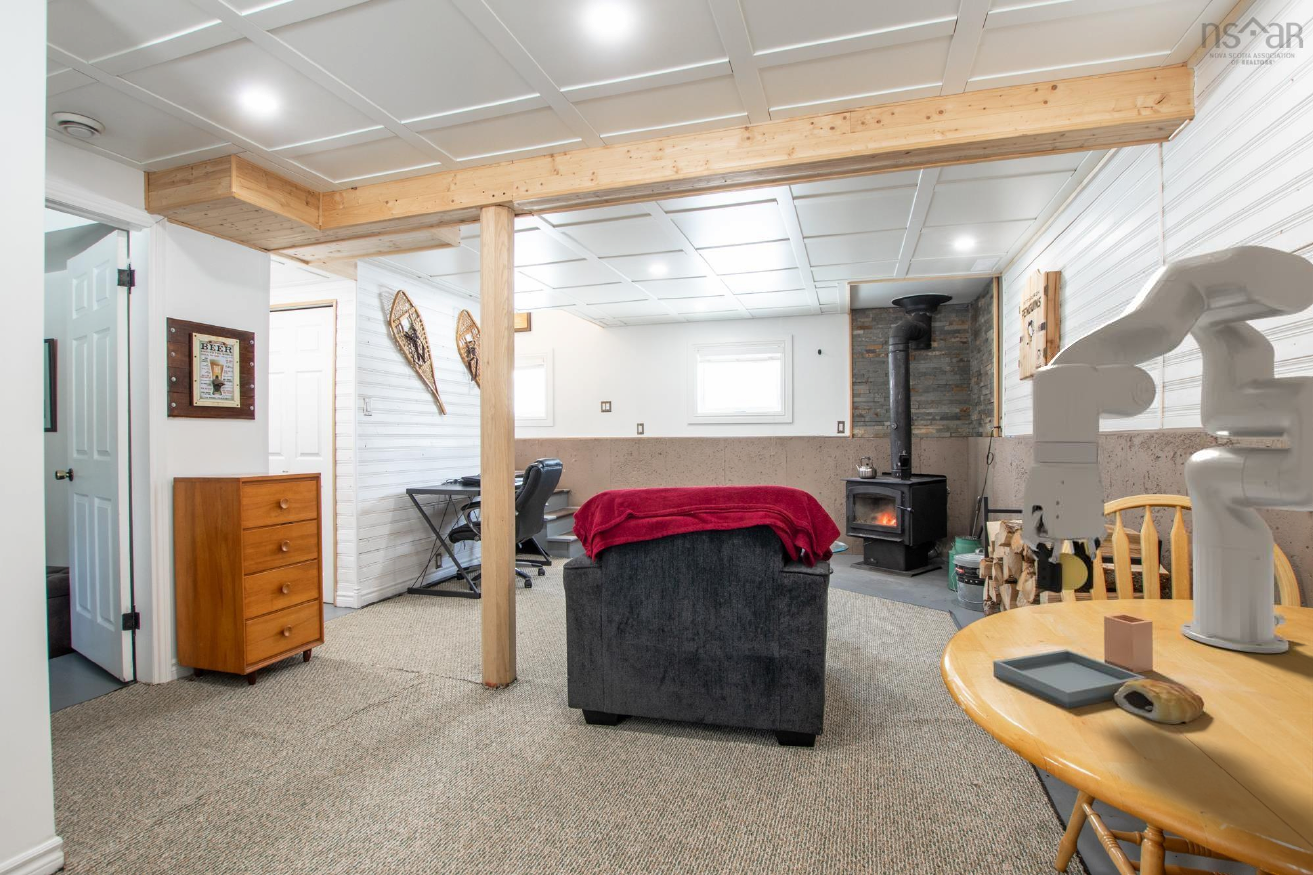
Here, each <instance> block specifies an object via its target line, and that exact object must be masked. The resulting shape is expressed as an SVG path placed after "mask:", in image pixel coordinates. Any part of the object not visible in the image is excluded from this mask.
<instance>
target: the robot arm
mask: <svg viewBox="0 0 1313 875" xmlns="http://www.w3.org/2000/svg"><path fill="white" fill-rule="evenodd" d="M1312 305H1313V263H1312V262H1311V261H1310V260H1308V259H1307V258H1305V257H1303V256H1301V255H1298V254H1295V253H1291V252H1287V251H1284V250H1280V249H1276V248H1272V247H1268V246H1262V245H1251V244H1250V245H1239V246H1234V247H1229V248H1224V249H1221V250H1216V251H1212V252H1207V253H1202V254H1199V255H1193V256H1190V257H1186V258H1182V259H1181V258H1180V259H1178V260H1174V261H1172V262H1169V263H1167V264H1165V265H1163V266H1162V267H1160V268H1159V269H1157V271H1155V273H1153V275H1152V276H1151V277H1150V278H1149V280H1148V281H1147V282H1146V283H1145V285H1144V286H1142V288H1141V290H1140V291H1139V292H1138V293H1137V294H1136V296H1135V297H1134V299H1132V300H1131V302H1130V303H1129V305H1128V306H1127V307H1126V308H1125V309H1124V311H1123V312H1122V313H1121V314H1120V315H1119V316H1117V317H1115V318H1113V319H1112V320H1110V321H1108V322H1106V323H1104V324H1102V325H1101V326H1099V327H1097V328H1096V329H1094V330H1092V331H1090V332H1089V333H1087V334H1085V335H1083V336H1082V337H1080V338H1078V339H1077V340H1075V341H1073V342H1072V343H1070V344H1069V345H1067V346H1066V347H1065V348H1063V349H1062V350H1060V352H1058V353H1057V355H1055V356H1054V358H1053V359H1052V360H1051V361H1050V362H1049V363H1048V365H1045V366H1042V367H1040V368H1038V369H1037V370H1035V372H1034V374H1033V377H1032V465H1029V466H1028V470H1027V472H1026V477H1025V482H1024V490H1023V498H1022V499H1023V500H1022V510H1021V511H1022V513H1021V529H1022V532H1021V534H1020V535H1019V536H1020V540H1022V542H1023V543H1024V544H1025V545H1026V546H1027V547H1028V549H1029V550H1030V551H1031V553H1032V554H1033V555H1032V557H1033V559H1035V560H1036V586H1037V588H1038V589H1040V590H1042V591H1043V590H1044V591H1046V592H1050V593H1055V594H1061V593H1062V592H1063V590H1062V563H1058V560H1059V555H1060V553H1061V549H1062V544H1063V541H1068V544H1069V548H1070V554H1073V555H1075V556H1077V557H1078V558H1080V559H1081V560H1082V561H1083V562H1084V564H1085V566H1086V568H1087V571H1088V576H1087V579H1086V581H1085V583H1084V584H1083V585H1082V586H1081V587H1079V588H1080V589H1083V590H1088V591H1090V590H1093V589H1094V561H1095V560H1096V559H1097V558H1098V553H1097V551H1098V550H1099V548H1100V547H1101V544H1102V542H1103V541H1104V540H1105V539H1106V538H1107V537H1108V535H1109V532H1108V529H1107V527H1106V526H1105V522H1106V521H1105V516H1106V515H1105V512H1106V510H1105V497H1104V496H1105V495H1104V487H1103V486H1104V485H1103V480H1102V475H1101V469H1100V420H1121V419H1122V420H1123V419H1129V418H1134V417H1136V416H1139V415H1141V414H1143V413H1145V411H1147V410H1148V409H1149V408H1150V407H1151V406H1152V405H1153V403H1154V401H1155V399H1156V394H1157V388H1156V387H1157V386H1156V382H1155V381H1154V378H1153V377H1152V376H1151V375H1150V373H1149V372H1148V371H1146V370H1145V369H1143V368H1141V367H1139V366H1138V365H1140V364H1143V363H1146V362H1149V361H1152V360H1155V359H1157V358H1160V357H1162V356H1165V355H1166V354H1169V353H1171V352H1172V351H1174V350H1176V349H1177V348H1178V347H1179V346H1180V345H1182V343H1183V341H1184V340H1185V338H1186V337H1187V336H1188V334H1190V335H1191V336H1192V338H1193V340H1194V341H1195V342H1196V344H1197V346H1198V347H1199V350H1200V353H1201V358H1202V359H1201V360H1202V361H1201V362H1202V370H1201V371H1202V372H1201V373H1202V374H1201V389H1200V390H1201V392H1200V408H1199V409H1200V411H1199V412H1200V414H1199V416H1200V423H1201V426H1202V428H1203V430H1204V431H1205V432H1206V433H1208V434H1209V435H1210V436H1213V437H1217V438H1223V439H1258V440H1259V439H1263V440H1264V439H1267V440H1268V439H1279V440H1280V439H1283V440H1288V441H1289V446H1290V447H1279V446H1278V447H1276V446H1275V447H1273V446H1272V447H1266V446H1264V447H1263V446H1215V447H1208V448H1204V449H1201V450H1198V451H1196V452H1194V453H1193V454H1192V455H1190V456H1189V457H1188V458H1187V461H1186V463H1185V466H1184V471H1183V472H1184V480H1185V485H1186V489H1187V492H1188V497H1189V503H1190V508H1191V517H1192V570H1193V571H1192V580H1193V581H1192V584H1193V586H1192V589H1193V590H1192V591H1193V592H1192V594H1193V595H1192V596H1193V598H1192V599H1193V600H1192V602H1193V604H1192V606H1193V614H1192V615H1193V621H1188V622H1185V623H1182V624H1181V626H1180V628H1181V634H1183V635H1184V636H1186V637H1188V638H1189V639H1191V640H1194V641H1196V642H1200V643H1202V644H1206V645H1210V646H1215V647H1218V648H1223V649H1227V650H1234V651H1239V652H1247V653H1257V654H1280V653H1285V652H1287V651H1288V650H1289V642H1288V640H1286V639H1285V638H1284V637H1282V636H1279V635H1277V634H1276V633H1275V627H1278V626H1283V625H1284V624H1286V617H1285V616H1283V615H1282V614H1281V613H1277V612H1276V613H1275V568H1274V567H1275V566H1274V565H1275V561H1274V560H1275V558H1274V557H1275V556H1274V555H1275V551H1274V550H1275V546H1274V545H1275V540H1274V536H1273V532H1272V530H1271V528H1270V527H1269V525H1268V524H1267V522H1266V521H1265V520H1264V518H1262V516H1261V515H1260V514H1259V513H1258V512H1257V511H1256V510H1255V509H1254V508H1256V509H1258V508H1261V509H1262V508H1263V509H1271V510H1272V509H1274V510H1284V511H1285V510H1287V511H1299V512H1313V376H1311V375H1302V376H1300V375H1298V376H1296V375H1295V376H1284V377H1275V358H1276V357H1275V355H1276V354H1275V348H1274V345H1273V344H1272V343H1271V341H1270V339H1268V338H1267V337H1266V336H1265V335H1264V334H1263V333H1262V332H1260V331H1259V330H1258V329H1257V328H1255V327H1254V326H1253V325H1251V324H1250V323H1248V322H1249V321H1256V320H1262V319H1269V318H1276V317H1278V318H1279V317H1285V316H1291V315H1292V316H1293V315H1294V314H1299V313H1301V312H1304V311H1305V310H1307V309H1308V308H1310V307H1311V306H1312ZM1247 321H1248V322H1247ZM1047 543H1049V544H1050V548H1049V547H1048V546H1047ZM1079 588H1078V589H1079Z"/></svg>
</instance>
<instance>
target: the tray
mask: <svg viewBox="0 0 1313 875" xmlns="http://www.w3.org/2000/svg"><path fill="white" fill-rule="evenodd" d="M992 662H993V663H992V664H993V666H992V668H993V676H994V677H996V678H999V679H1000V680H1003V681H1005V682H1008V683H1009V684H1012V685H1014V686H1016V687H1018V688H1021V689H1023V690H1025V691H1027V692H1029V693H1032V694H1034V695H1037V696H1038V697H1040V698H1043V699H1045V700H1048V701H1049V700H1050V701H1049V702H1052V703H1054V704H1057V705H1059V706H1061V707H1063V708H1065V709H1067V710H1068V709H1069V710H1070V709H1075V708H1079V707H1082V706H1083V707H1085V706H1089V705H1095V704H1099V703H1103V702H1107V701H1112V700H1114V701H1115V699H1114V694H1115V693H1117V692H1118V690H1119V689H1120V688H1121V687H1123V685H1124V684H1125V683H1126V682H1128V681H1129V680H1135V681H1138V680H1139V679H1146V680H1147V677H1146V676H1143V675H1140V674H1137V673H1132V672H1129V671H1126V670H1124V669H1121V668H1118V667H1115V666H1112V665H1109V664H1107V663H1105V661H1104V662H1103V661H1101V660H1098V659H1095V658H1092V657H1090V656H1089V657H1088V656H1087V655H1084V654H1081V653H1078V652H1075V651H1072V650H1070V649H1061V650H1060V649H1059V650H1055V651H1048V652H1042V653H1037V654H1030V655H1025V656H1018V657H1012V658H1006V659H1000V660H994V661H992Z"/></svg>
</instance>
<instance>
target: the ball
mask: <svg viewBox="0 0 1313 875" xmlns="http://www.w3.org/2000/svg"><path fill="white" fill-rule="evenodd" d="M1058 563H1062V591H1073V590H1076V589H1079V587H1081V586H1082V585H1083V584H1084V583H1085V581H1086V579H1087V576H1088V571H1087V568H1086V566H1085V564H1084V562H1083V561H1082V560H1081V559H1080V558H1078V557H1077V556H1075V555H1073V554H1071V552H1070V553H1069V552H1060V555H1059V560H1058Z"/></svg>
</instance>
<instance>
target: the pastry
mask: <svg viewBox="0 0 1313 875" xmlns="http://www.w3.org/2000/svg"><path fill="white" fill-rule="evenodd" d="M1114 701H1115V702H1116V703H1117V704H1118V707H1119V708H1121V709H1123V710H1125V711H1126V712H1129V713H1132V714H1135V715H1138V716H1140V717H1144V718H1145V719H1148V720H1151V721H1153V722H1157V723H1162V724H1167V725H1172V724H1173V725H1179V724H1180V723H1182V722H1185V723H1186V724H1187V723H1191V721H1194V720H1196V719H1197V718H1199V717H1200V716H1202V714H1204V713H1203V712H1204V706H1205V702H1204V700H1203V698H1202V696H1201V695H1199V694H1197V693H1194V692H1193V691H1191V690H1189V689H1187V688H1185V687H1183V686H1181V685H1177V684H1171V683H1170V682H1164V681H1159V680H1158V681H1157V680H1156V679H1155V680H1154V679H1150V678H1149V679H1147V680H1146V679H1139V680H1138V681H1135V680H1129V681H1128V682H1126V683H1125V684H1124V685H1123V687H1121V688H1120V689H1119V690H1118V692H1117V693H1115V694H1114Z"/></svg>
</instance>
